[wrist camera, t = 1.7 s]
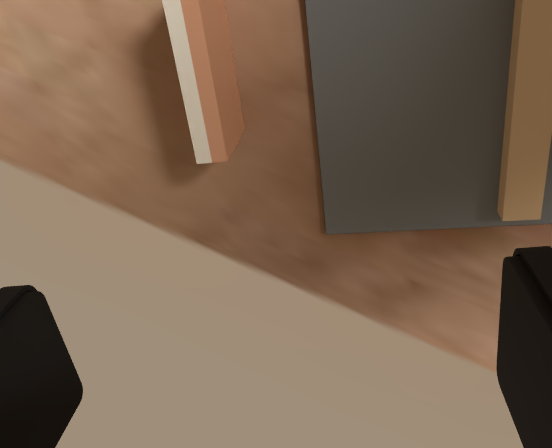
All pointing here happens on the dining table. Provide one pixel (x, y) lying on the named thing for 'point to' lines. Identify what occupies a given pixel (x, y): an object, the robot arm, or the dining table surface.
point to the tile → (206, 76)
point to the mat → (432, 112)
